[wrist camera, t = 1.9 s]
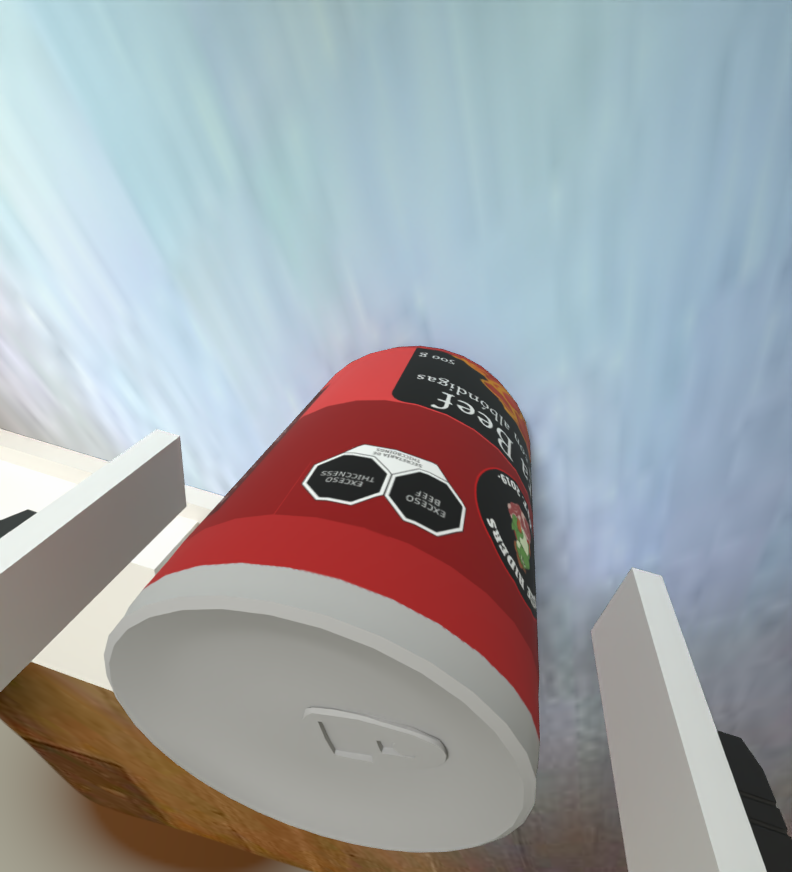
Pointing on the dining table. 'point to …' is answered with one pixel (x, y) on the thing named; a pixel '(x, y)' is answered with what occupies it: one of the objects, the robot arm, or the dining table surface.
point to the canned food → (358, 617)
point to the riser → (88, 632)
